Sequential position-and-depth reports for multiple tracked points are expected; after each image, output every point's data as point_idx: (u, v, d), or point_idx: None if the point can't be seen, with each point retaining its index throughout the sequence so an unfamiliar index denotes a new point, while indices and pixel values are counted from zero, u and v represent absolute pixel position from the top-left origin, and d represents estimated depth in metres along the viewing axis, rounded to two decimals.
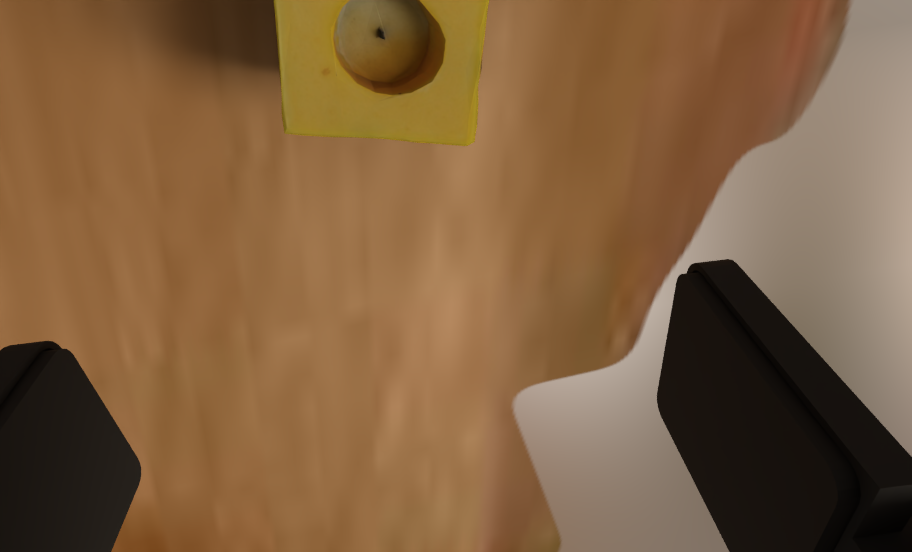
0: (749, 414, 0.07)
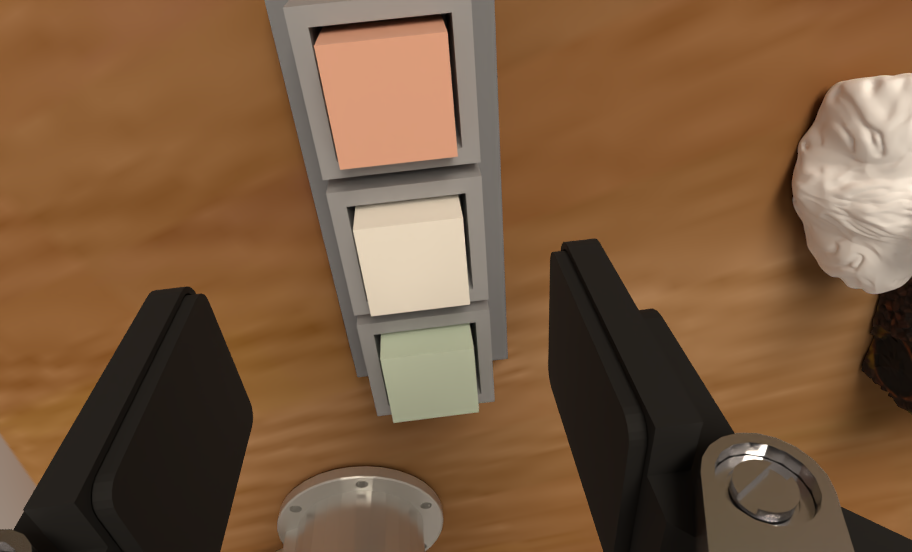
0: (588, 375, 0.08)
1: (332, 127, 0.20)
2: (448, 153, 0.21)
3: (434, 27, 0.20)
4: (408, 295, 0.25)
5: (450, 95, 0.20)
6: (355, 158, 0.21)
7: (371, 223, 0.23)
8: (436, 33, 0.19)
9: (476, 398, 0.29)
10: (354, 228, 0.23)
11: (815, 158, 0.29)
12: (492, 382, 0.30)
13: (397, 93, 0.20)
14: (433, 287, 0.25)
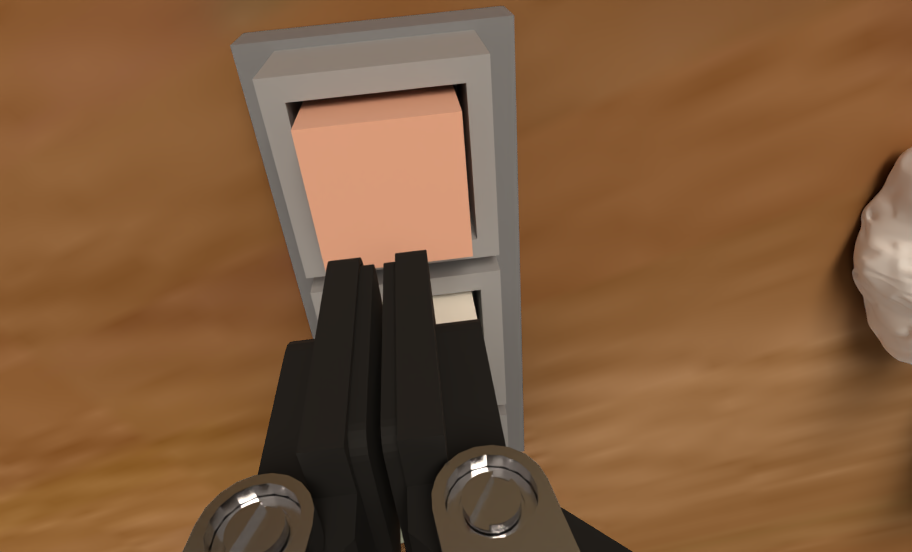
0: None
1: (316, 225, 0.16)
2: (461, 253, 0.17)
3: (444, 103, 0.15)
4: None
5: (464, 186, 0.16)
6: None
7: None
8: (447, 113, 0.15)
9: None
10: None
11: (885, 231, 0.25)
12: None
13: (398, 184, 0.16)
14: None
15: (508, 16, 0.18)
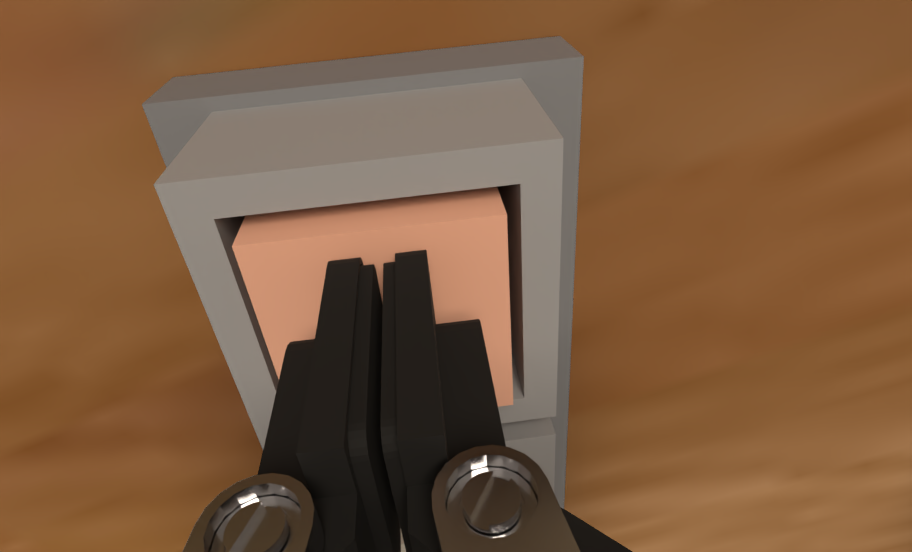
0: None
1: (279, 373, 0.11)
2: None
3: (477, 193, 0.10)
4: None
5: (506, 317, 0.10)
6: None
7: None
8: (484, 217, 0.09)
9: None
10: None
11: None
12: None
13: None
14: None
15: (575, 58, 0.12)
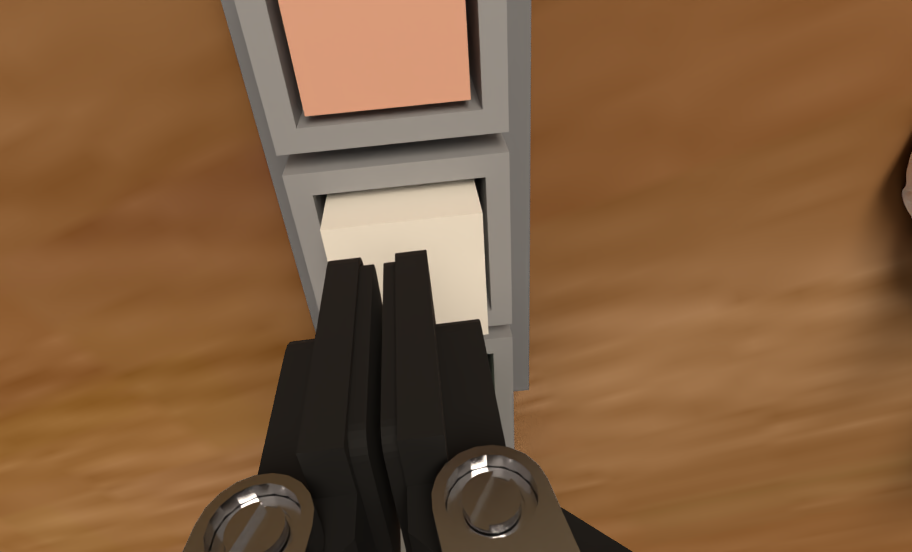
0: None
1: (292, 52, 0.14)
2: (457, 94, 0.15)
3: None
4: None
5: (462, 6, 0.14)
6: (326, 99, 0.15)
7: (347, 220, 0.16)
8: None
9: None
10: (322, 227, 0.16)
11: None
12: (512, 427, 0.23)
13: (385, 1, 0.14)
14: (437, 311, 0.17)
15: None
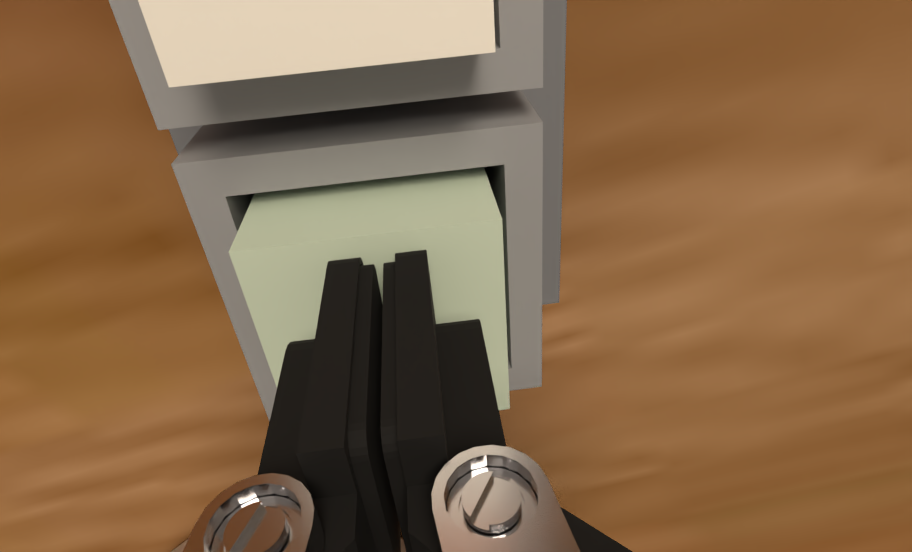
0: None
1: None
2: None
3: None
4: (284, 3, 0.07)
5: None
6: None
7: None
8: None
9: (504, 373, 0.11)
10: None
11: None
12: (539, 339, 0.13)
13: None
14: None
15: None
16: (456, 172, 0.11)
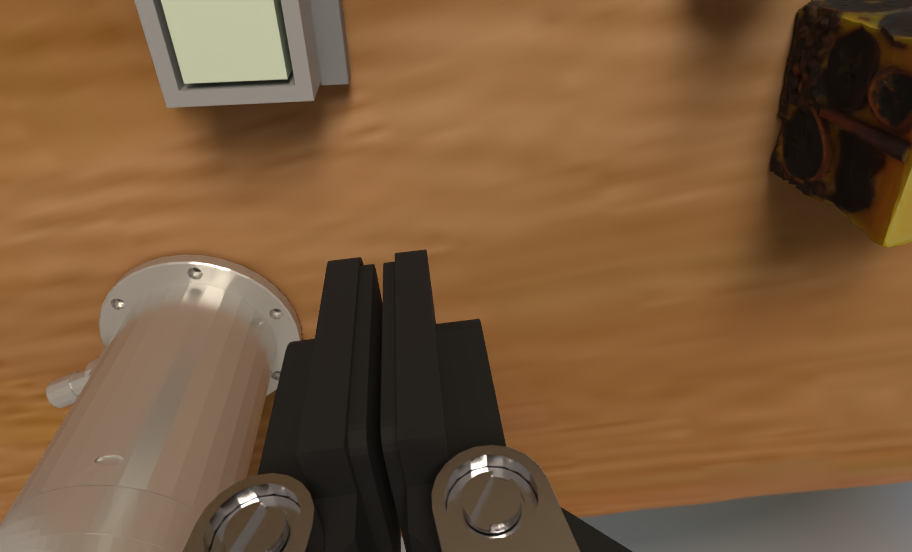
0: None
1: None
2: None
3: None
4: None
5: None
6: None
7: None
8: None
9: (281, 55, 0.25)
10: None
11: None
12: (307, 67, 0.25)
13: None
14: None
15: None
16: None
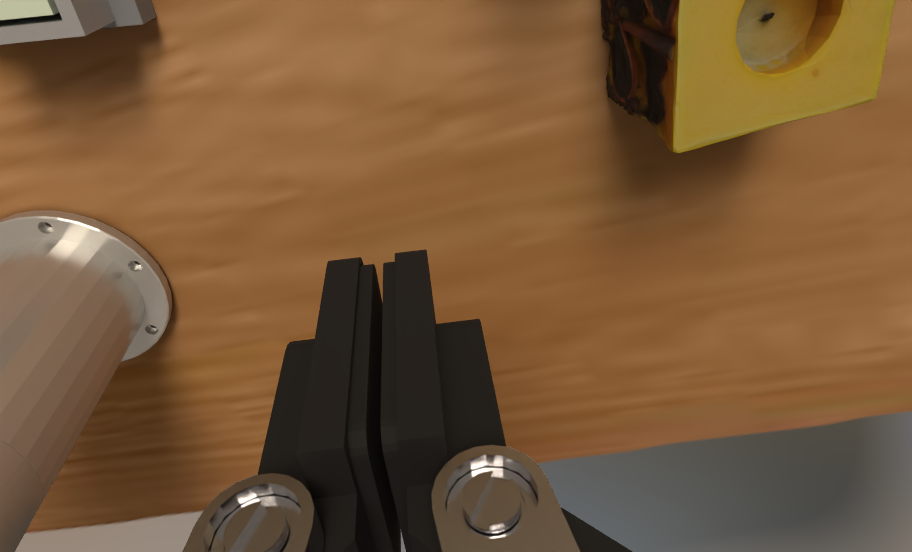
0: None
1: None
2: None
3: None
4: None
5: None
6: None
7: None
8: None
9: None
10: None
11: None
12: (69, 1, 0.26)
13: None
14: None
15: None
16: None
